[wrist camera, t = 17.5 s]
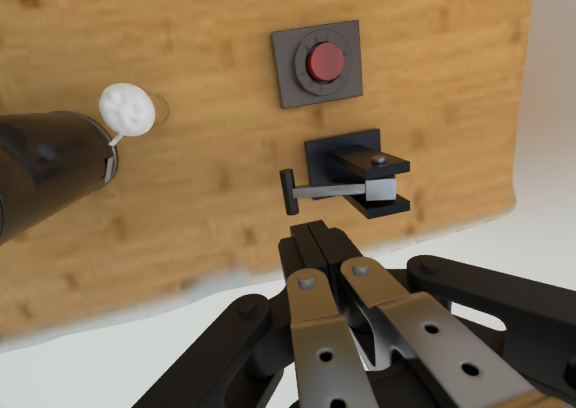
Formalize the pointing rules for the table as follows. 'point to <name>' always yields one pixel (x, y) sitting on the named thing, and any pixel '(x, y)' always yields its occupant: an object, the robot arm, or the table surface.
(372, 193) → the switch lever
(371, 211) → the switch bracket
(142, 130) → the milkshake
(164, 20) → the table surface
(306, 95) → the button block
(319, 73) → the button
